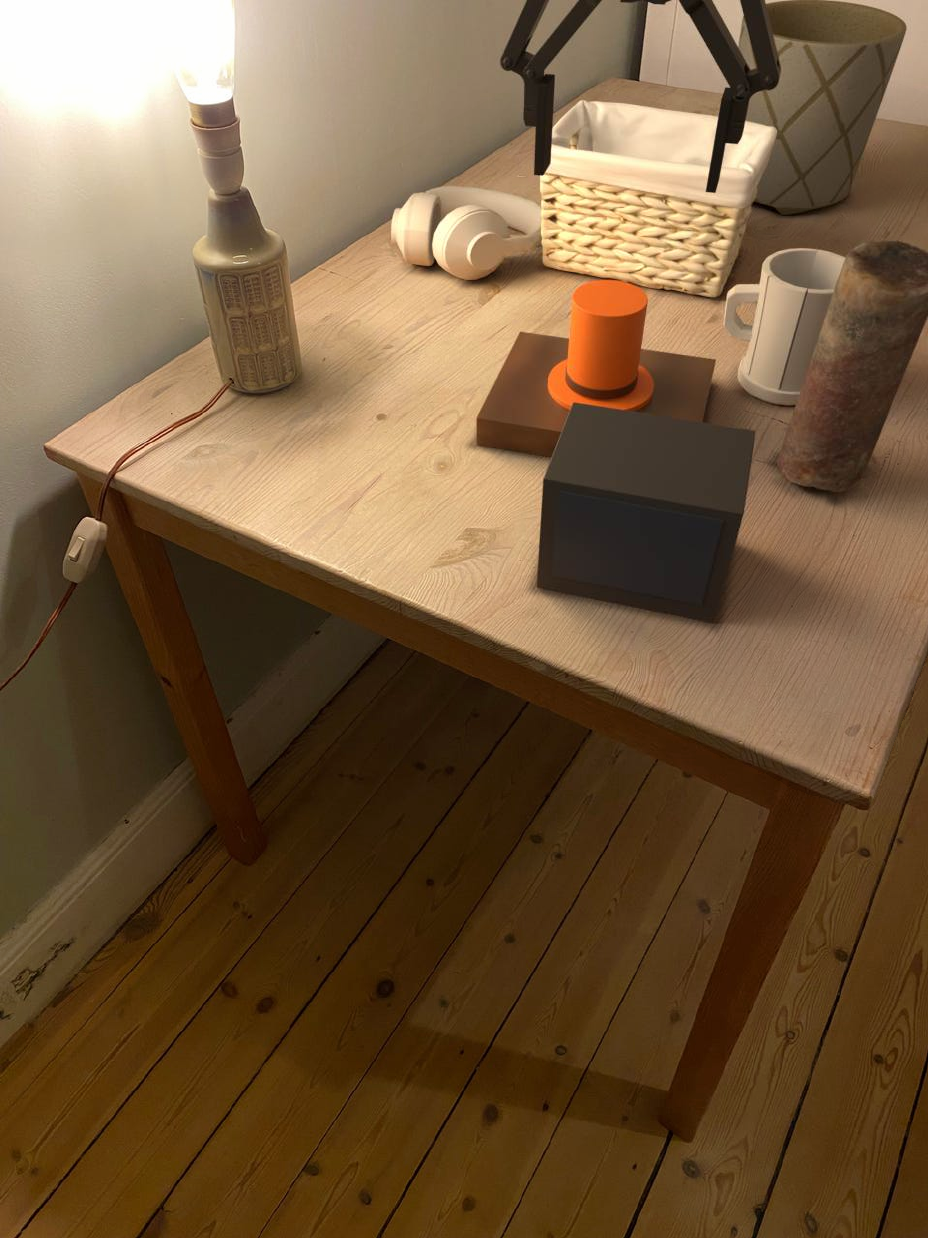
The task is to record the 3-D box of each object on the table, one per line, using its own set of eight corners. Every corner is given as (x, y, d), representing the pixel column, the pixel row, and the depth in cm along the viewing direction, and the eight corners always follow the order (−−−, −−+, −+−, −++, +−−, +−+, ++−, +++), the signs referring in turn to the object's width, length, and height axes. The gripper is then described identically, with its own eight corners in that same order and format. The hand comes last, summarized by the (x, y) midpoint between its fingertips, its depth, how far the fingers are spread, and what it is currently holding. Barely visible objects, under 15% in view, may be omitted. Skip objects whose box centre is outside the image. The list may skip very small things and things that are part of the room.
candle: (868, 462, 83) (951, 248, 69) (856, 510, 79) (942, 291, 64) (784, 442, 85) (847, 230, 71) (767, 487, 81) (830, 271, 66)
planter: (683, 182, 126) (709, 15, 112) (780, 152, 133) (817, -9, 119) (786, 232, 115) (831, 54, 101) (886, 196, 123) (941, 24, 108)
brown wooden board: (710, 385, 92) (716, 359, 90) (689, 480, 82) (695, 453, 80) (519, 356, 96) (520, 331, 94) (476, 444, 86) (476, 417, 84)
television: (727, 539, 76) (755, 430, 68) (713, 625, 70) (743, 515, 62) (563, 509, 79) (573, 401, 71) (535, 589, 73) (542, 479, 65)
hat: (660, 367, 89) (675, 278, 82) (643, 424, 83) (658, 333, 76) (560, 352, 91) (566, 264, 85) (536, 407, 85) (541, 317, 78)
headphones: (490, 300, 103) (569, 255, 117) (495, 228, 98) (578, 190, 112) (359, 261, 110) (449, 223, 123) (359, 192, 105) (452, 160, 118)
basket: (754, 248, 113) (783, 119, 102) (728, 310, 102) (757, 174, 92) (569, 219, 119) (577, 94, 108) (527, 274, 109) (532, 143, 98)
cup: (746, 417, 88) (776, 301, 80) (705, 368, 94) (728, 255, 86) (843, 399, 90) (882, 284, 81) (796, 352, 96) (828, 240, 87)
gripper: (872, -181, 57) (790, 174, 72) (488, -185, 62) (487, 146, 78) (873, -165, 52) (784, 212, 67) (455, -171, 57) (462, 179, 73)
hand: (625, 177), depth 72 cm, fingers open, 13 cm apart
